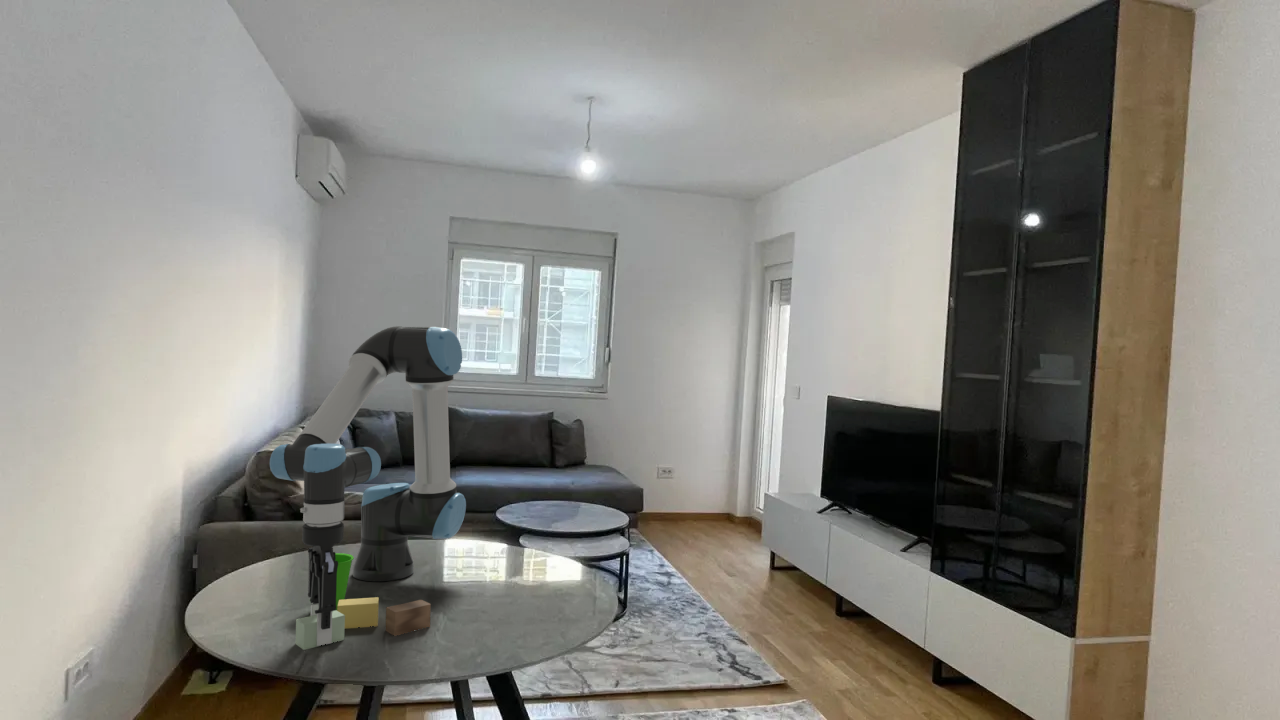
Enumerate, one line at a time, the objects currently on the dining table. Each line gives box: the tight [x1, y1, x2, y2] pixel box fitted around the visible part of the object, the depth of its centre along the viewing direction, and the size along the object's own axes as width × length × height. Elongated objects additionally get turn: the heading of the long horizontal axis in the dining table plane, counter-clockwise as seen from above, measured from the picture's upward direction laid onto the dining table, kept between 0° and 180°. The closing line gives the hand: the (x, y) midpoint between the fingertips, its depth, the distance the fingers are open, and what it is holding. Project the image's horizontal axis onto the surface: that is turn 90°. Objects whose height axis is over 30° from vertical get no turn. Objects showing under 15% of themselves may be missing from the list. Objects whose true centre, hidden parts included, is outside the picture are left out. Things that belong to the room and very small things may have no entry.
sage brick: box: [294, 610, 346, 651], centre depth 149 cm, size 8×4×5 cm, turn 135°
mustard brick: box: [337, 596, 380, 629], centre depth 160 cm, size 8×4×5 cm, turn 107°
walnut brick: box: [385, 599, 432, 637], centre depth 158 cm, size 8×4×5 cm, turn 135°
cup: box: [335, 552, 355, 611], centre depth 170 cm, size 9×9×11 cm
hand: (320, 639), depth 150 cm, fingers closed on sage brick, 4 cm apart
